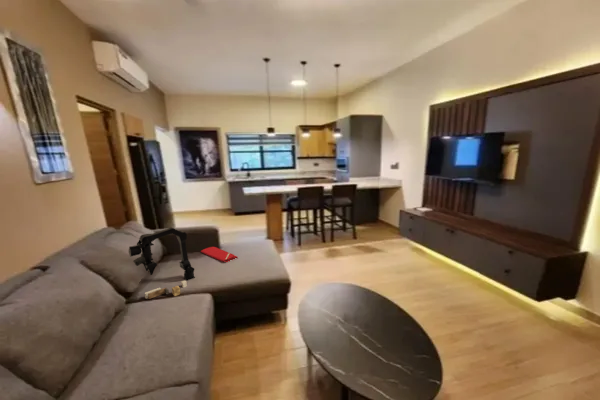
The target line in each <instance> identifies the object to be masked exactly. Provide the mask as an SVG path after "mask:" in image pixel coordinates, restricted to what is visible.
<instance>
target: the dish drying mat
mask: <svg viewBox="0 0 600 400" xmlns="http://www.w3.org/2000/svg"><path fill="white" fill-rule="evenodd" d="M200 253H202V254H204V255H206V256H208V257H210V258H213V259H215V260H218V261H220V262H224V263H229V262H231V261H230V260H232V261H234V260H233V259H235V258H237V259H239V258H238V256H237V255H235V254H233V253H230V252H228V251H225V250H224V249H221V248H219V247H216V246H209V247H206V248H204V249H202V250H200ZM235 260H236V259H235ZM228 261H229V262H228Z"/></svg>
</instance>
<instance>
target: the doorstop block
mask: <svg viewBox="0 0 600 400" xmlns="http://www.w3.org/2000/svg"><path fill="white" fill-rule="evenodd" d="M171 292H172V295H173V296H174V297H176V296H179V295H181V288H180V286H179V285H176V286H173V287H171Z"/></svg>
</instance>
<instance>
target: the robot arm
mask: <svg viewBox="0 0 600 400" xmlns="http://www.w3.org/2000/svg"><path fill="white" fill-rule="evenodd" d="M171 234H172V235H175V236H176V238H177V241H178V244H179V250H180V257H181V259H180V260H181V261H179V262H178V263H179V267H180V268H181V269H182V270H183V278H184V279H185V281H191V280H192V279H195V278H196V276H195V273H194V272H195V268H194V267H193V266H192V264H191V262H190V260H189V256H188V249H187V243H186V242H187V239H188V234H187V233H186V232H185V231H183V230H178V229H176V228H174V227H171V226H170V227H168V228H165V229H163V230H159V231H156V232H153V233H145V234H141V235H140V236H139V240H138V241H137V242H136V245H132V246H129V247H128V255H129V257H134V256H139V255H140V256H139V257H137V258H135V259H134V260H133V261H132V262H133V263H134V265H135V266H136V267H138V266H140V265H143V267H144V269H145V271H146V272H148V273H149V275H150V276H152V275H153V274H154V271H155V269H156V267H157V266H158V262H156V261H155V260H154V259H153V252H152V246H154V243H152V242H154V241H155V240H157V239H159V238H163V237H165V236H166V237H167V236H168V235H169V236H170V235H171Z"/></svg>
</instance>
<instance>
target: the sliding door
mask: <svg viewBox="0 0 600 400" xmlns="http://www.w3.org/2000/svg"><path fill="white" fill-rule="evenodd" d="M164 294H166V295H169V294H170V290H169V289H168V288H167V287H164V288H161V289H160V290H158V291H155V292H152V293H149V294H148V298H147V300H148V299H149V300H150V299H152V298H153V299H154V298H155V297H156V298H157V297H159V296H162V295H164Z"/></svg>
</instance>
